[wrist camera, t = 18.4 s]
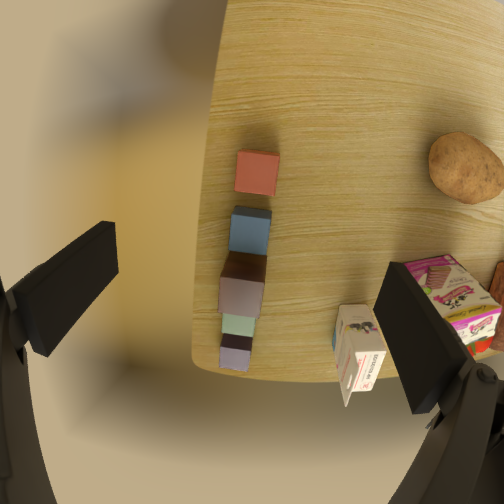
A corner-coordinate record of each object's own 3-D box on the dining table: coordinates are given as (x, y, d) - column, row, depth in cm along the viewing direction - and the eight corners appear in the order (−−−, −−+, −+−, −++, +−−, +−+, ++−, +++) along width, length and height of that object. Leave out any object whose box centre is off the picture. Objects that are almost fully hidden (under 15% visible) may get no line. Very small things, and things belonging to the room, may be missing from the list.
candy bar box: (449, 251, 41) (504, 305, 26) (447, 278, 43) (495, 336, 28) (390, 262, 43) (433, 327, 28) (389, 290, 45) (426, 359, 30)
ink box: (358, 342, 50) (375, 406, 36) (331, 343, 50) (343, 409, 36) (368, 303, 46) (393, 366, 33) (339, 303, 46) (357, 368, 33)
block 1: (241, 148, 38) (238, 150, 35) (279, 153, 38) (280, 156, 34) (237, 184, 40) (233, 191, 37) (274, 189, 40) (274, 196, 36)
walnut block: (226, 282, 46) (217, 312, 39) (229, 250, 44) (220, 276, 37) (262, 287, 46) (259, 318, 39) (267, 255, 44) (264, 282, 37)
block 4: (224, 331, 50) (220, 346, 47) (253, 335, 50) (251, 351, 47) (222, 352, 53) (218, 367, 49) (249, 356, 52) (247, 371, 49)
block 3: (227, 292, 47) (223, 306, 44) (259, 296, 47) (257, 311, 43) (225, 317, 49) (221, 332, 46) (255, 322, 49) (253, 337, 45)
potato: (479, 202, 37) (508, 218, 30) (410, 187, 38) (435, 202, 31) (489, 144, 33) (520, 151, 26) (418, 121, 34) (446, 123, 27)
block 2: (235, 205, 41) (231, 214, 38) (271, 210, 41) (271, 219, 38) (232, 239, 43) (228, 250, 40) (266, 244, 43) (265, 255, 40)
